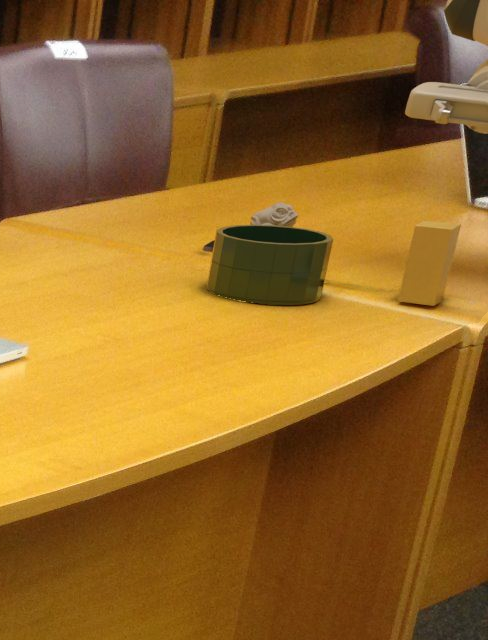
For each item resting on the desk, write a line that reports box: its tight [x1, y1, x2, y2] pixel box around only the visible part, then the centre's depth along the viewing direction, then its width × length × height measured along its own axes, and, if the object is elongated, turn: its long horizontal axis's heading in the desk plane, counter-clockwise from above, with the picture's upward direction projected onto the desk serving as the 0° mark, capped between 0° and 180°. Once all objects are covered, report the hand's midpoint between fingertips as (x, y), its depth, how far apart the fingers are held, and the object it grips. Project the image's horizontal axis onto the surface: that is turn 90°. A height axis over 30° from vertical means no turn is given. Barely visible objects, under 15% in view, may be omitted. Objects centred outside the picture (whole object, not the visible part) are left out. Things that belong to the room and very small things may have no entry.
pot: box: [206, 224, 334, 306], centre depth 209 cm, size 15×15×8 cm
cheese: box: [397, 220, 462, 307], centre depth 205 cm, size 4×5×10 cm
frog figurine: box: [249, 202, 299, 227], centre depth 238 cm, size 6×7×7 cm
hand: (480, 122), depth 204 cm, fingers open, 8 cm apart
